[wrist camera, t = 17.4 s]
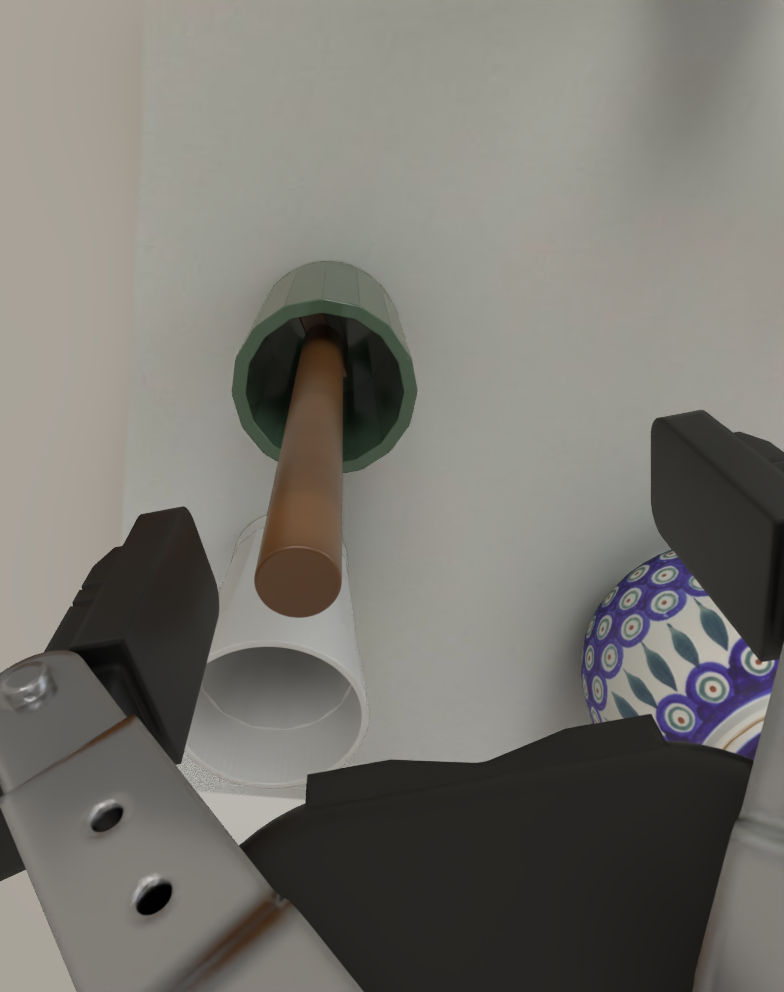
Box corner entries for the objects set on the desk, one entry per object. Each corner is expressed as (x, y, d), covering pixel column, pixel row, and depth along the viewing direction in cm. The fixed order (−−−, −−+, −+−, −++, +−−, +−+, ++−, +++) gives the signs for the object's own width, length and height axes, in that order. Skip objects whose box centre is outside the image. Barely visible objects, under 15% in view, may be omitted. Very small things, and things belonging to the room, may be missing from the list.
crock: (242, 276, 32) (208, 321, 24) (384, 247, 32) (397, 282, 24) (280, 410, 35) (261, 490, 27) (409, 384, 35) (429, 456, 27)
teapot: (731, 766, 49) (875, 997, 35) (522, 759, 47) (592, 999, 34) (882, 433, 37) (1173, 590, 24) (615, 410, 36) (772, 565, 23)
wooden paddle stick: (296, 289, 32) (219, 526, 12) (329, 277, 32) (304, 497, 12) (322, 354, 33) (292, 660, 14) (354, 343, 33) (369, 635, 13)
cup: (207, 604, 40) (156, 773, 29) (232, 482, 36) (186, 622, 26) (342, 630, 41) (341, 801, 31) (379, 516, 38) (392, 662, 27)
